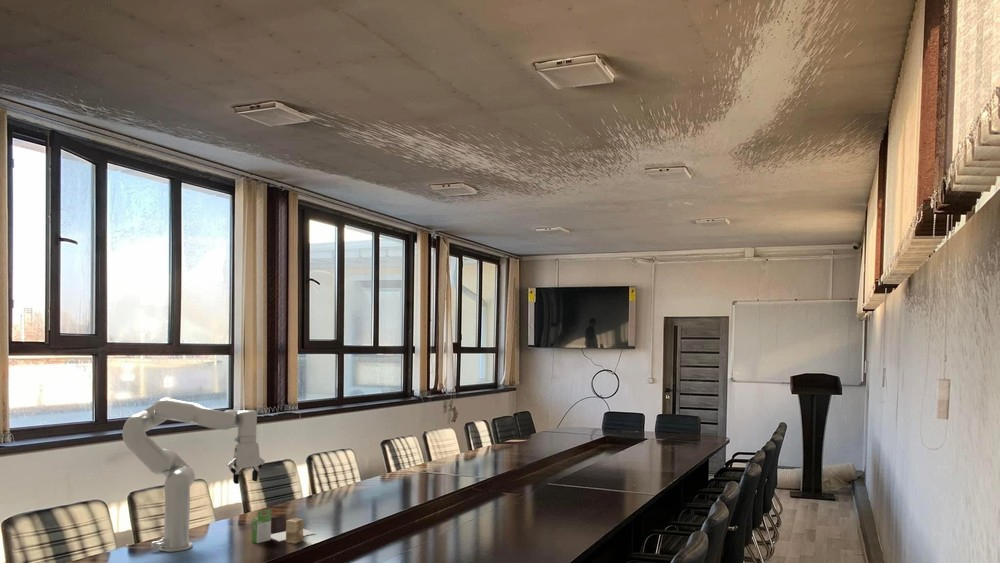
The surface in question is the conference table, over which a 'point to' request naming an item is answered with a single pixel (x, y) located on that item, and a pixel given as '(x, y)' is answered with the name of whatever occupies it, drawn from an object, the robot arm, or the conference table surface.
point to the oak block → (294, 530)
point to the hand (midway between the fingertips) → (245, 481)
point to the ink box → (261, 527)
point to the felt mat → (282, 535)
